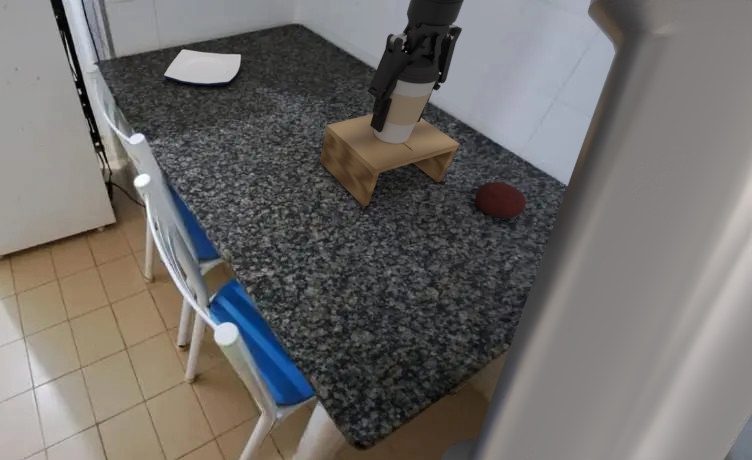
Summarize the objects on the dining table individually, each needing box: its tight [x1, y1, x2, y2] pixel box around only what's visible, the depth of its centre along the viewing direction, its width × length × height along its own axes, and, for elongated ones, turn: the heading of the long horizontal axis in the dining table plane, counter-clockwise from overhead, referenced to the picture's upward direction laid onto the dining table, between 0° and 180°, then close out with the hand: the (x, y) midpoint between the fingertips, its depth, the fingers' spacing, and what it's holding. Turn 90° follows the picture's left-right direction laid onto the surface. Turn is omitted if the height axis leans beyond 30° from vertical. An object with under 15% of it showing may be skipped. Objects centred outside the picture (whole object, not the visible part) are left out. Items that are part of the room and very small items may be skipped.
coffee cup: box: [374, 51, 440, 144], centre depth 72 cm, size 9×9×15 cm
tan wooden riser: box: [319, 113, 460, 208], centre depth 81 cm, size 16×20×9 cm
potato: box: [474, 181, 527, 219], centre depth 73 cm, size 7×8×6 cm
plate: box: [163, 49, 242, 87], centre depth 115 cm, size 20×20×3 cm
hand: (395, 123), depth 76 cm, fingers closed on coffee cup, 8 cm apart
